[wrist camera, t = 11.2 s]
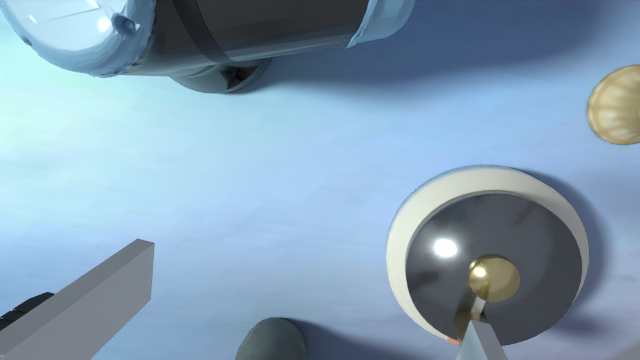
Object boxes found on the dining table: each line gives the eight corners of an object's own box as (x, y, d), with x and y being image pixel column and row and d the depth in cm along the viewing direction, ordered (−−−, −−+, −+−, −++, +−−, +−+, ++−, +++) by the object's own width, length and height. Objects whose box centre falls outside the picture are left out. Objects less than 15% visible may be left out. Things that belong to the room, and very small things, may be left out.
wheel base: (410, 146, 43) (414, 152, 40) (605, 187, 42) (625, 196, 38) (368, 306, 49) (368, 323, 46) (536, 348, 48) (549, 368, 44)
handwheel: (434, 170, 40) (460, 206, 28) (601, 216, 39) (699, 273, 27) (385, 309, 45) (390, 387, 33) (532, 353, 44) (590, 449, 32)
